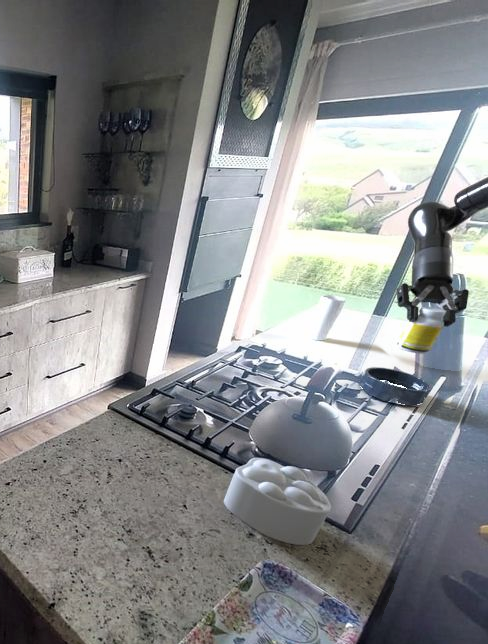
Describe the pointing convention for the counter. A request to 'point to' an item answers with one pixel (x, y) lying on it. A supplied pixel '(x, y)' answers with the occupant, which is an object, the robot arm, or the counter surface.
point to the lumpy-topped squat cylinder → (277, 501)
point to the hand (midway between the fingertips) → (430, 322)
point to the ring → (410, 396)
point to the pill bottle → (422, 331)
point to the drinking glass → (325, 316)
